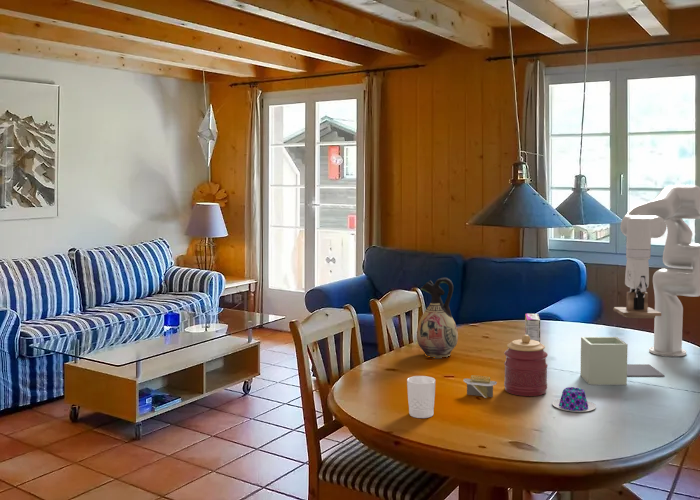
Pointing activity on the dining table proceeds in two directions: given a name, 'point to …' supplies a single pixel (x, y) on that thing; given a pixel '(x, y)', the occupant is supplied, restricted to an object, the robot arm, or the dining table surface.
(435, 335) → the ceramic jug
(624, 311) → the lid
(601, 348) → the box
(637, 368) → the mat
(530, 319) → the candy bar box
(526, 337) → the canister
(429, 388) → the white cup
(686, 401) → the dining table surface
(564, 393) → the pudding
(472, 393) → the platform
